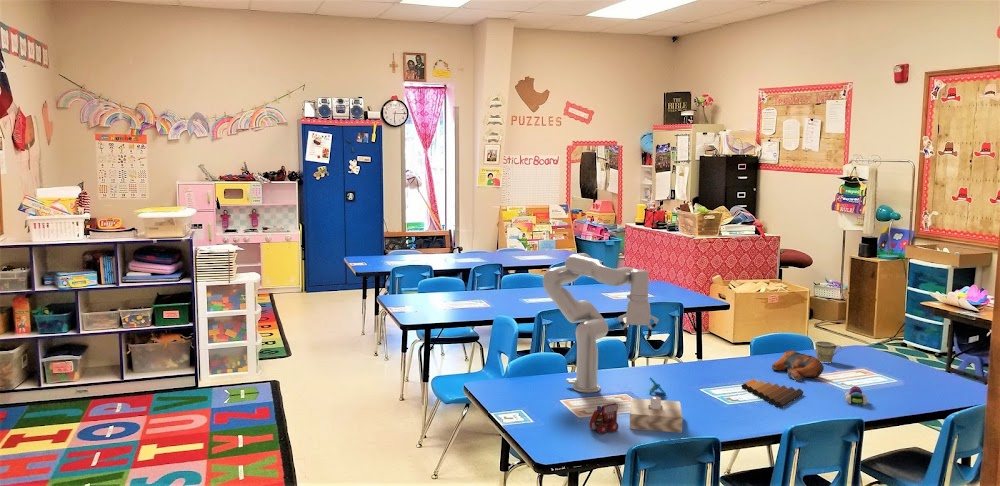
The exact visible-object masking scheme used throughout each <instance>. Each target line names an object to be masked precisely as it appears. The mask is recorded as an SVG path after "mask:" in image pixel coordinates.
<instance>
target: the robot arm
mask: <svg viewBox="0 0 1000 486" xmlns="http://www.w3.org/2000/svg"><path fill="white" fill-rule="evenodd" d="M649 274H650V273H649V271H648V270H647V269H641V268H637V269H636V268H634V267H630V266H625V267H624V266H623V267H619V268H611V267H607V266H604V265H603V262H602V261H601V260H599V259H596V258H593V257H592V256H590V255H589V254H587V253H585V252H582V253H581V252H579V253H576V254H571V255H569V256H568V257H567V258H566V259H565V262H564V265H562V266H555V267H551V268H550V269H548V270H546V272H544V275H543V277H542V284H543V285H542V286H543V289H544V291H545V293H546V294H547V295H548V297H549V298H550V299H551V301H552V302H553V303H554V304H555V305H556V307H557V308H558V310H559V311H560V312H561V313H562V315H563V316H564V317H565V319H566V320H567V321H568V322H569V323H572V324H577V323H578V325H577V326H576V328H575V341H576V373H575V375H576V376H575V377H574V378H566V383H567V384H569V385H572V389H573V390H574V391H576V392H578V393H579V392H580V393H584V394H585V393H586V394H587V393H596V392H600V391H601V386H600V385H599V384H598V368H599V367H598V366H599V349H598V344H597V340H600V339H602V338H604V337H606V336H607V334H608V333H609V325H608V323H607V321H606V320H605V318H604V317H603V316H602V314H601V313H600V312H599V310H597V308H596V307H595V306H594V304H593V303H591V302H590V301H588V300H586V299H581V300H577V299H576V298H575V297H574V296H573V295H572V293H571V292H570V291H569V290H567V289H566V288H565V287H564V286H563V285H567V284H568V285H569V284H572V283H573V282H575V281H577V280H579V279H578V278H580V277H582V276H584V277H588V278H592V279H594V280H595V281H597V282H598V283H601V284H604V285H609V286H613V287H622V286H625V285H630V294H626V298H627V299H628V301H627V307H626V313H624V314H622V315H619V316H618V317H617V320H618V321H619V323H620V325H621V326H622V327H623V335H624V336H625V338H627V337H628V326H629V325H631V326H647V332H648V333H647V339H650V337H652V333H653V332H652V331H653V329H654V328H655V327H656V326H657V324H658V323H659V321H660V320H659V318H657V317H655V316H654V315H652V314H651V303H650V300H649V280H650V277H649V276H650V275H649ZM624 318H625V321H626V322H624V321H623V319H624ZM651 320H653V321H654V322H653V323H652V324H651Z"/></svg>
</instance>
